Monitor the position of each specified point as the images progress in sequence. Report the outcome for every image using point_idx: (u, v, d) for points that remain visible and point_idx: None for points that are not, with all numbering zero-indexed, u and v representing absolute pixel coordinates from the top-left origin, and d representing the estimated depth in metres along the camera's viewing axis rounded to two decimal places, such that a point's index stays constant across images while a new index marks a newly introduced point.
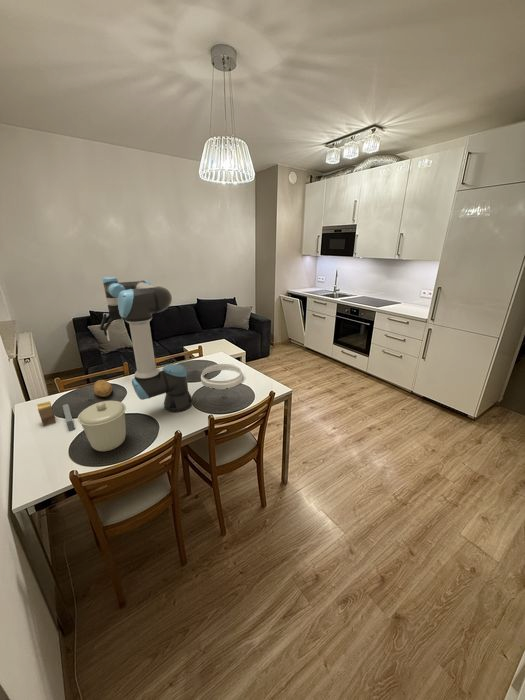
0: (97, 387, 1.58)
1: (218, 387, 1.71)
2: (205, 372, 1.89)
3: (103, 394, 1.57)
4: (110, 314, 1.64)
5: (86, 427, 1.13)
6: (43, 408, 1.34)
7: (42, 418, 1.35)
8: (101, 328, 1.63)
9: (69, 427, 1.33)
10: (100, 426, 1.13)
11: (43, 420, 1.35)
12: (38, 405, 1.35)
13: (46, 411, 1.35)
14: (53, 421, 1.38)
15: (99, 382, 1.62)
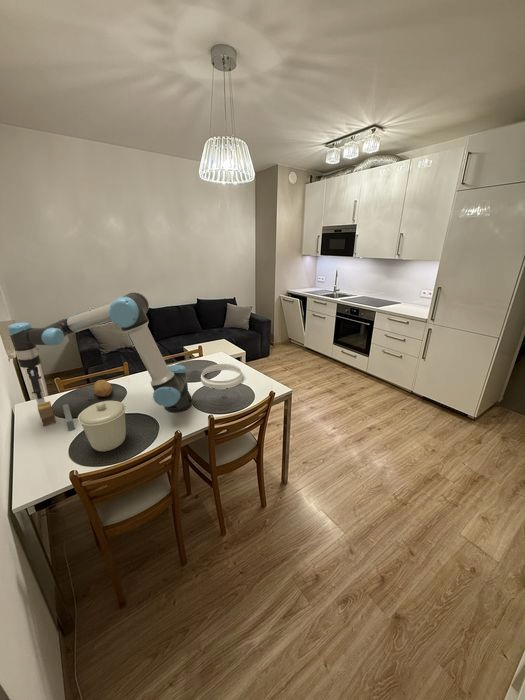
0: (97, 387, 1.58)
1: (218, 387, 1.71)
2: (205, 372, 1.89)
3: (103, 394, 1.57)
4: None
5: (86, 427, 1.13)
6: (43, 408, 1.34)
7: (42, 418, 1.35)
8: None
9: (69, 427, 1.33)
10: (100, 426, 1.13)
11: (43, 420, 1.35)
12: (38, 405, 1.35)
13: (46, 411, 1.35)
14: (53, 421, 1.38)
15: (99, 382, 1.62)
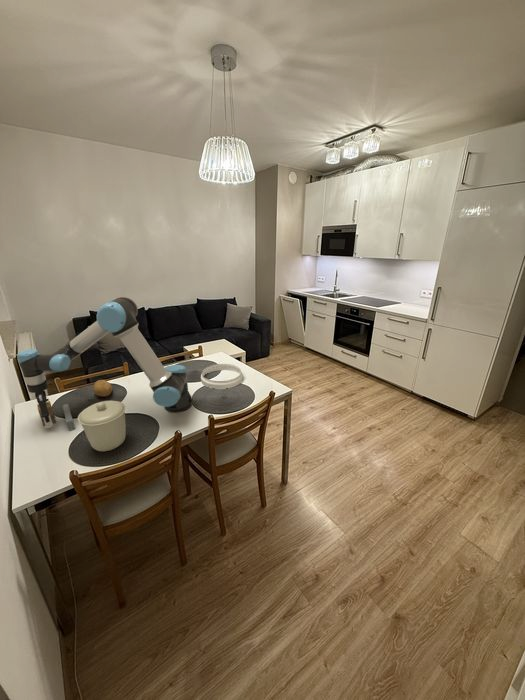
0: (97, 387, 1.58)
1: (218, 387, 1.71)
2: (205, 372, 1.89)
3: (103, 394, 1.57)
4: None
5: (86, 427, 1.13)
6: None
7: (42, 418, 1.35)
8: None
9: (69, 427, 1.33)
10: (100, 426, 1.13)
11: (43, 420, 1.35)
12: (38, 405, 1.35)
13: None
14: (53, 421, 1.38)
15: (99, 382, 1.62)
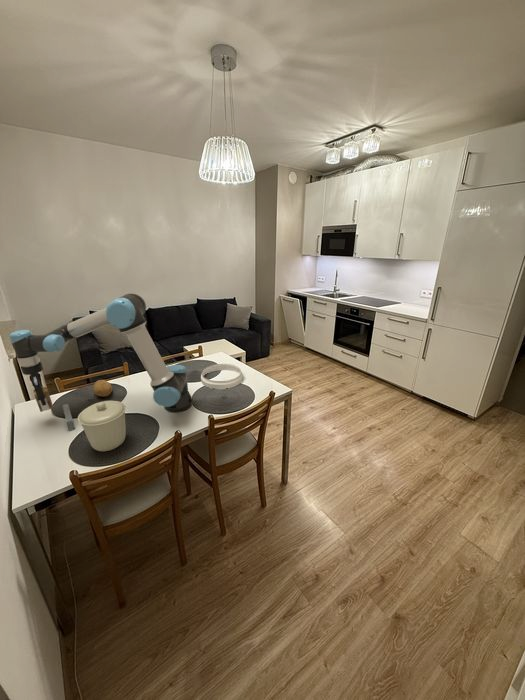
0: (97, 387, 1.58)
1: (218, 387, 1.71)
2: (205, 372, 1.89)
3: (103, 394, 1.57)
4: None
5: (86, 427, 1.13)
6: None
7: (39, 403, 1.32)
8: None
9: (69, 427, 1.33)
10: (100, 426, 1.13)
11: (40, 405, 1.32)
12: (34, 390, 1.32)
13: None
14: (50, 406, 1.35)
15: (99, 382, 1.62)
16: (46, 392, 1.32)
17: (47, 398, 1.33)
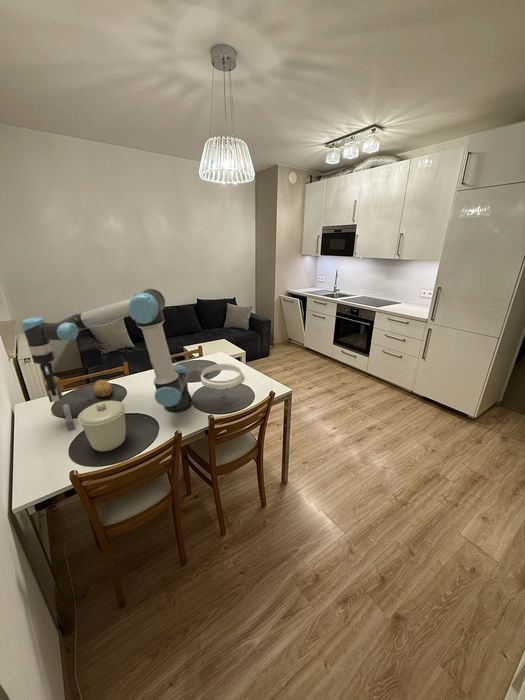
0: (97, 387, 1.58)
1: (218, 387, 1.71)
2: (205, 372, 1.89)
3: (103, 394, 1.57)
4: None
5: (86, 427, 1.13)
6: None
7: (49, 393, 1.28)
8: None
9: (69, 427, 1.33)
10: (100, 426, 1.13)
11: (50, 396, 1.29)
12: (44, 380, 1.29)
13: None
14: (60, 397, 1.32)
15: (99, 382, 1.62)
16: (56, 382, 1.29)
17: (57, 388, 1.30)
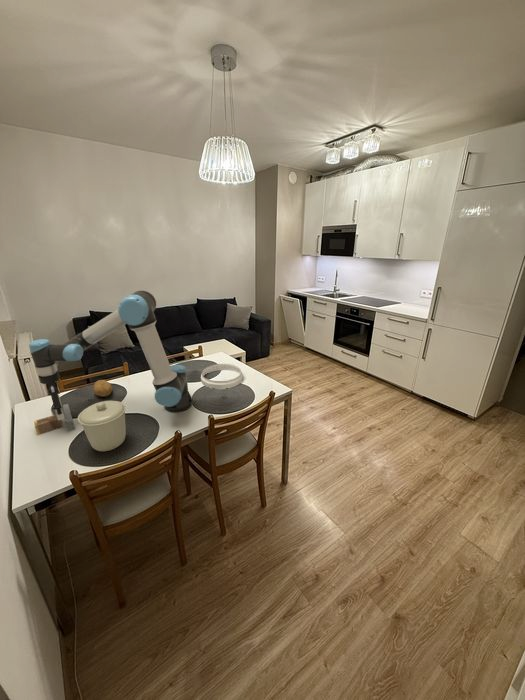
0: (97, 387, 1.58)
1: (218, 387, 1.71)
2: (205, 372, 1.89)
3: (103, 394, 1.57)
4: None
5: (86, 427, 1.13)
6: (37, 430, 1.30)
7: (51, 429, 1.33)
8: None
9: (69, 427, 1.33)
10: (100, 426, 1.13)
11: (55, 428, 1.34)
12: None
13: (42, 428, 1.31)
14: None
15: (99, 382, 1.62)
16: (37, 426, 1.29)
17: (46, 424, 1.31)
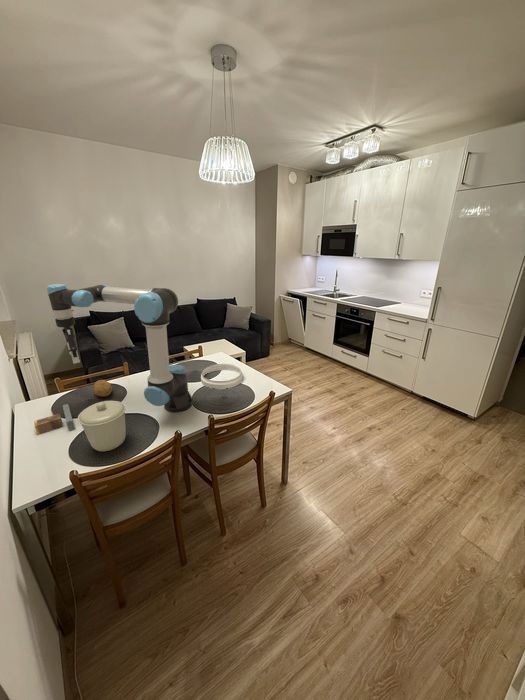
0: (97, 387, 1.58)
1: (218, 387, 1.71)
2: (205, 372, 1.89)
3: (103, 394, 1.57)
4: None
5: (86, 427, 1.13)
6: (37, 430, 1.30)
7: (51, 429, 1.33)
8: None
9: (69, 427, 1.33)
10: (100, 426, 1.13)
11: (54, 428, 1.34)
12: None
13: (42, 428, 1.31)
14: (58, 420, 1.34)
15: (99, 382, 1.62)
16: (37, 426, 1.29)
17: (46, 424, 1.31)
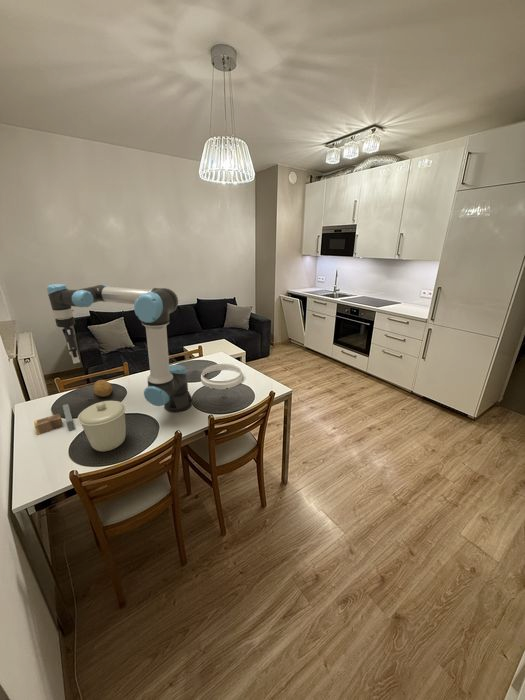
0: (97, 387, 1.58)
1: (218, 387, 1.71)
2: (205, 372, 1.89)
3: (103, 394, 1.57)
4: None
5: (86, 427, 1.13)
6: (37, 430, 1.30)
7: (51, 429, 1.33)
8: None
9: (69, 427, 1.33)
10: (100, 426, 1.13)
11: (54, 428, 1.34)
12: None
13: (42, 428, 1.31)
14: (58, 420, 1.34)
15: (99, 382, 1.62)
16: (37, 426, 1.29)
17: (46, 424, 1.31)
